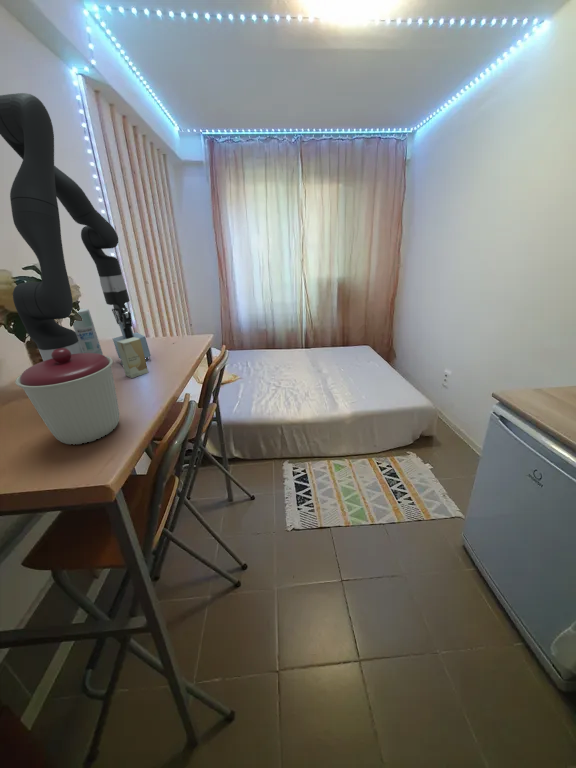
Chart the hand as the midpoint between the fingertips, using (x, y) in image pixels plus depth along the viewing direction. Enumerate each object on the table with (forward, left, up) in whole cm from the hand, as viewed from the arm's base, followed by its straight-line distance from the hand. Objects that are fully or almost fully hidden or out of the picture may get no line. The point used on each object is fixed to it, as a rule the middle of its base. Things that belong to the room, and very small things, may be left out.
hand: (128, 336), depth 117 cm
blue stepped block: (0, 0, -8) cm, 8 cm away
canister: (-25, -44, -10) cm, 52 cm away
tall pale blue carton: (-11, +11, -10) cm, 18 cm away
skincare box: (-4, -15, -10) cm, 18 cm away
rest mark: (0, 0, -9) cm, 9 cm away
